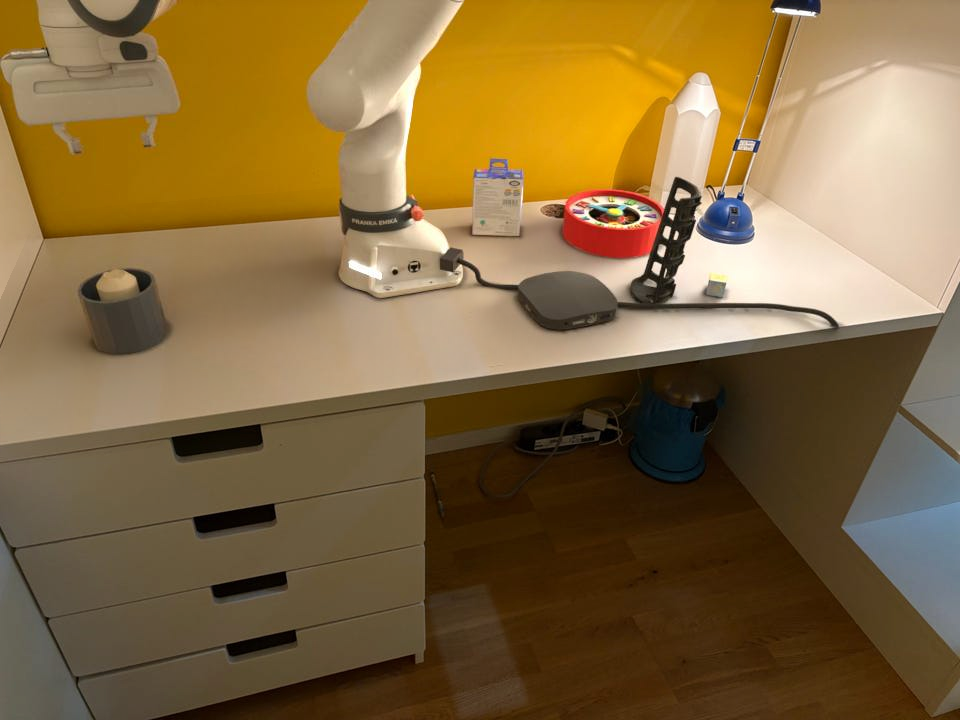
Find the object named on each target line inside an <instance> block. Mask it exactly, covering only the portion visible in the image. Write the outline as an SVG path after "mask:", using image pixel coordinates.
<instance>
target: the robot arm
mask: <svg viewBox="0 0 960 720" xmlns="http://www.w3.org/2000/svg"><path fill="white" fill-rule="evenodd" d="M35 2H36V5H37V9H38V10H37V11H38V15H37V16H38V17H37V18H38V23H39V26H40V30H41V33H42V36H43V39H44V42H45V45H46V47H33V48H26V49H21V48H14V49H10V50H8V52H7V53H5V54H3V55H2V57H1V58H0V69H1V71H2V72H1V73H2V76H3V78H4V80H5V81H6V82H7V83H8V84H9V85H10V86H11V90H12V97H13V102H14V105H15V110H16V113H17V117H18V119H19V120H20V121H21V122H23V123H24V124H25V125H27V126H39V125H51V127H52V130H53V132H54V133H55V134H56V135H57V136H58V137H59V138H60V139H61V140H62V141H63V142H65V143H66V144H67V147H68V151H69V153H70V155H73V156H74V155H80V154H84V148H83V145H82V141H81V138H80V137H75V138H74V137H73V136H72V135H71V134H70V133H69V132H68V131H67V130H66V129H67V123H75V122H88V121H98V120H99V121H100V120H110V119H112V120H113V119H121V118H122V119H123V118H135V117H144V119H145V122H146V123H147V124H148V127H147V130H146V131H142V132H140V138H141V141H142V146H143V148H144V149H145V148H154V147H156V143H155V138H154V134H155V133H154V132H155V130H156V127H157V124H158V117H157V115H158V116H159V115H169V114H176V113H177V112H178V111H179V109H180V107H181V100H180V96H179V91H178V88H177V85H176V83H175V82H176V81H175V79H174V76H173V74H172V71H171V69H170V67H169V65H168V63H167V62H166V60H165V59H164V57H162V55H159V45H158V41H157V40H156V38H155V37H154V36H153V35H151V34H149V33H145V32H142V31H143V30H144V29H145V28H146V27H147V26H148V25H149V24H150V23H152V22H153V21H154V20H156V19H158V18H159V17H161V16H162V15H164V14H166V13H167V12H168V11H170V10H171V9H172V8H173V7H174V6H175V5H176V4H177V3H178V2H179V0H35ZM464 2H465V0H368V1H367V2H366V4H365V5H364V7H363V8H362V9H361V10H360V12H359V13H358V14H357V16H356V17H355V18H354V19H353V21H352V22H351V23H350V24H349V26H348V27H347V28H346V30H345V31H344V33H343V34H342V35H341V37H340V38H339V39H338V41H336V44H335V45H334V46H333V48H332V49H331V51H330V52H329V53H328V55H327V57H326V58H325V59H324V60H323V61H322V62H321V64H320V65H319V66H318V67H317V68H316V69H315V70H314V72H312V74H311V75H310V77H309V78H308V82H307V85H306V100H307V105H308V107H309V109H310V111H311V113H312V115H313V116H314V118H315V119H316V120H317V122H318V123H319V124H321V125H322V126H323V127H324V128H325V129H328V130H330V131H332V132H335V133H336V132H337V133H344V136H343V140H342V143H341V145H340V148H339V150H338V157H337V162H338V163H337V164H338V175H339V186H340V199H339V203H338V204H339V206H338V213H339V214H338V215H339V223H340V229H341V232H342V251H341V260H340V265H339V270H338V277H339V279H340V281H342V283H344V284H345V285H347V286H348V287H351V288H353V289H355V290H360V291H364V292H366V293H368V294H370V295H372V296H373V297H375V298H378V299H383V298H391V297H397V296H401V295H403V296H404V295H408V294H415V293H421V292H426V291H432V290H439V289H444V288H451V287H456V286H458V285H460V283H461V282H462V280H463V277H464V269H463V266H464V267H466V268H467V269H469V270H471V271H472V272H473V273H474V276H475V280H476V281H477V283H478V284H479V285H481V286H483V287H486V288H493V289H499V290H508V291H518V286H519V284H499V283H491V282H489V281H487V280H484V279H483V278H482V277H481V272H480V269H479V268H478V266H477V267H476V265H474V264H473V263H471V262H470V261H467V260H465V259H464V249H461V248H455V247H451V246H450V245H449V242H448V239H447V238H446V236H445V234H444V232H442V230H441V229H440V228H438V227H437V226H435V225H433V224H432V223H430V222H429V221H427V220H426V219H424V212H423V209H422V207H420V206H419V202H418V201H417V200H416V198H415V196H414V195H413V194H412V193H411V194H410V196H409V195H408V194H407V171H406V170H407V169H406V166H407V165H406V159H407V157H406V156H407V145H408V137H409V132H410V126H411V118H412V113H413V104H414V99H415V94H416V91H417V88H418V85H419V82H420V80H421V75H422V67H421V62H422V61H423V60H424V59H425V58H426V56H427V55H428V54H429V53H430V52H431V51H432V50H433V49H434V48H435V46H436V45H437V43H438V42H439V40H440V39H441V37H442V36H443V34H444V33H445V31H446V30H447V28H448V26H449V25H450V24H451V22H452V21H453V19H454V17H455V16H456V15H457V13H458V11H459V9H461V7H462V5H463V4H464ZM617 308H623V309H625V308H626V309H645V310H648V309H650V310H679V309H680V310H683V309H684V310H685V309H686V310H687V309H688V310H689V309H691V310H692V309H765V310H766V309H768V310H780V311H787V312H794V313H800V314H801V313H803V314H810V315H815V316H817V317H821V318H822V319H824V320H826V321H827V322H828V323H829V324H830V325H831V326H832V327H833V328H839V327H840V326H839V323H838V322H837V320H836V319H835V318H834V317H832V316H831V314H829V313H827V312H825V311H823V310H820V309H817V308H812V307H804V306H796V305H795V306H794V305H788V304H781V303H773V302H772V303H770V302H684V303H683V302H681V303H679V302H678V303H677V302H676V303H674V302H672V303H667V302H664V303H655V304H652V303H639V302H630V301H629V302H627V301H618V306H617Z"/></svg>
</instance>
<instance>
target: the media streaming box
mask: <svg viewBox="0 0 960 720" xmlns="http://www.w3.org/2000/svg"><path fill="white" fill-rule="evenodd" d="M518 285H519V286H518V290H517V299H518V301H519V302H520V303H521V305H522V306H523V307H524V309H525V310H526V311H527V313H528V314H529V315H530V316H531V317H532V318H533V319H534V320H535V321H536V322H537V323H538V324H539V325H540V326H542V327H544V328H547V329H551V330H557V331H558V330H559V331H561V330H569V329H575V328H576V329H577V328H581V327H587V326H591V325H595V324H596V325H597V324H601V323H606V322H609V321H612V320H613V319H615V317H616V316H617V312H618V307H617V306H618V302H619V301H618V299H617V297H616V296H615V294H614V292H612V290H610V289H609V287H607V286H606V284H605V283H603V282H602V281H601V280H600V279H598V278H597V277H595V276H593V275H592V274H589V273H586V272H580V271H575V270H559V271H558V270H557V271H551V272H545V273H539V274H536V275H533V276H530V277H526V278H524V279H523V280H522V281H520V282H519V284H518Z"/></svg>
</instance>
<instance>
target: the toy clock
mask: <svg viewBox="0 0 960 720" xmlns="http://www.w3.org/2000/svg"><path fill="white" fill-rule="evenodd" d="M664 208H665V207H664V206H663V205H661V203H659V202H658V201H656V200H655V199H652V198H650V197H648V196H646V195H643V194H640V193H636V192H632V191H627V190H621V189H609V188H608V189H607V188H605V189H604V188H601V189H600V188H599V189H590V190H584V191H580V192H577V193H575V194H572V195H570V197H568V198H567V200H566V201H565V203H564V211H563V222H562V231H561V232H562V233H561V234H562V237H563V238H564V240H565V241H566V242H567V243H568V244H569V245H570V246H572V247H574V248H575V249H578V250H579V251H583V252H585V253H587V254H590V255H591V254H592V255H595V256H598V257H599V256H600V257H606V258H612V259H613V258H615V259H628V258H636V257H637V258H638V257H643V256H646V255H650V252H651V249H652V246H653V243H654V240H655V236H656V233H657V230H658V227H659V224H660V221H661V218H662V215H663V211H664ZM660 246H661V244H660V245H659V247H660Z"/></svg>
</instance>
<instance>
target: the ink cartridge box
mask: <svg viewBox="0 0 960 720" xmlns="http://www.w3.org/2000/svg"><path fill="white" fill-rule="evenodd" d="M497 163H499V164H504V166H493V164H497ZM488 166H489V167H488V168H486V169H485V168H474V171H473V177H472V178H473V179H472V180H473V181H472V225H471V226H472V228H471V235H474V236H500V237H501V236H502V237H503V236H504V237H519V236H520V234H521V233H520V231H521V223H522V211H523V198H524V196H523V194H524V173H523V169H509V159H508V158H489V165H488Z"/></svg>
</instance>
